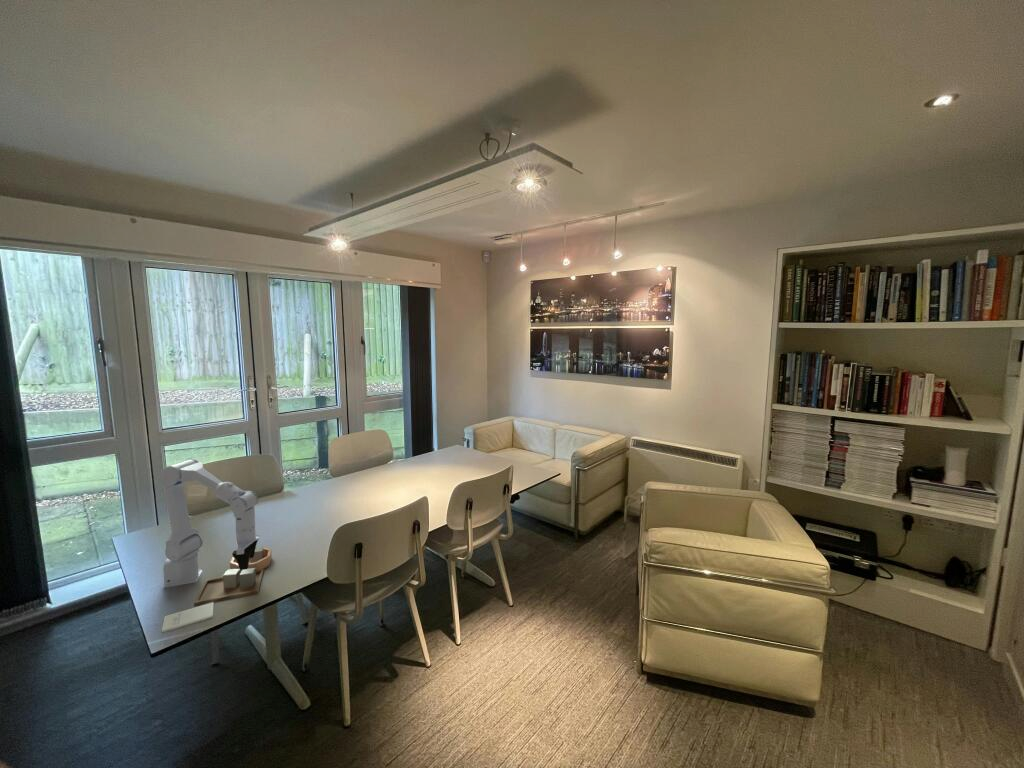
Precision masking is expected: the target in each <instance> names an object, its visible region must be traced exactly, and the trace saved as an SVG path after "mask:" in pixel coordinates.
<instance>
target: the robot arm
mask: <svg viewBox="0 0 1024 768" xmlns="http://www.w3.org/2000/svg"><path fill="white" fill-rule="evenodd" d="M160 478H161V482H162V483H161V484H162V491H163V496H164V500H165V505H166V510H167V516H168V519H169V524H170V530H171V534H170V535H169V537H168V538H167V540H166V541H165V550H164V553H165V556H166V559H165V561H164V563H163V568H162V569H163V589H164V588H171V587H176V586H181V585H188V584H193V583H197V582H198V580H199V579H200V577H201V574H202V573H203V569H199V556H198V555H199V554H198V553H199V552H200V548H202V547H203V543H204V541H203V537H202V536H201V535H200V532H199V531H200V530H199V529H197V528H195V527H192V523H191V520H190V514H189V509H188V503H187V500H186V495H185V490H184V486H185V485H186V484H187V483H188V482H196V483H198V484H201V485H202V486H205V487H206V488H209V489H211V490H213V491H214V496H216V497H217V498H218V499H220V500H222V501H223V502H225V503H227V504H229V506H230V507H229V508H230V510H231V511H232V512H233V517H234V519H235V539H236V540H235V545H236V550H233V551H232V553H231V554H232V555H231V556H232V557H234V558H235V559H236V561H237V563H238V565H239V568H240V570H245V569H247V568H248V565H249V558H253V557H254V554H255V548H257V544H258V541H259V540H260V535H257V532H256V517H255V514H256V513H255V511H256V508H255V507H256V505H258V503H259V498H258V495H257V494H256V493H255V492H254V491H253V490H243V489H241V488H240V487H238V486H236V485H235V484H234V483H233V482H232V481H224V482H223V481H222V480H220V479H219V478H218V477H216V476H215V475H214V474H212V473H210V472H209V471H208V470H207V469H205V468H204V464H203V463H202V462H200V461H199V460H197V459H195V458H189V459H187V460H185V461H182V462H178V463H174V464H172V465H168V466H166V467H165V468H163V469H162V470H161V472H160Z"/></svg>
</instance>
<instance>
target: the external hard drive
mask: <svg viewBox="0 0 1024 768" xmlns="http://www.w3.org/2000/svg"><path fill="white" fill-rule="evenodd" d="M214 605H215V601H214V602H209V603H204V604H201V605H200V606H195V607H192V608H188V609H185V610H181V611H178V612H174V613H171V614H167V615H164V619H163V624H162V628H161V633H162V634H163V633H166V632H171V631H173V630H176V629H180V628H184V627H186V626H190V625H193V624H196V623H200V622H203V621H205V620H209V619H213V618H214V608H215V607H214Z"/></svg>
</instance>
